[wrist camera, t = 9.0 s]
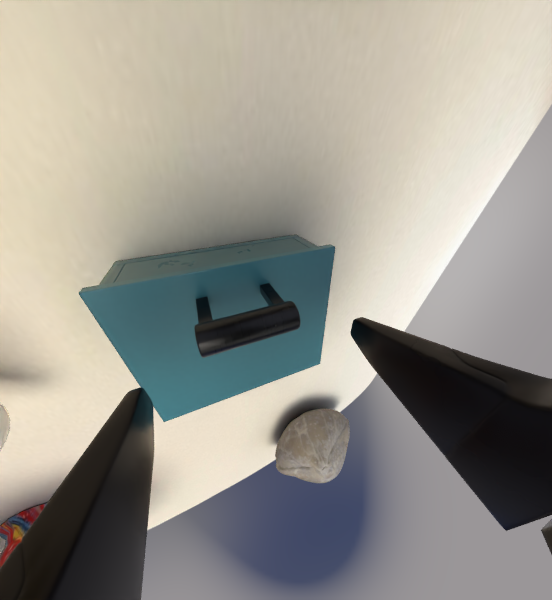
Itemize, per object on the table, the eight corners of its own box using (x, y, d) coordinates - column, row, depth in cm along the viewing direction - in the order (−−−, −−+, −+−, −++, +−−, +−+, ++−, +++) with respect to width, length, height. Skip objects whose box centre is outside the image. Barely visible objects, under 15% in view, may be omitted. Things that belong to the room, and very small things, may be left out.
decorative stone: (295, 478, 40) (295, 548, 25) (265, 429, 43) (250, 467, 28) (355, 430, 41) (387, 471, 27) (322, 385, 44) (335, 400, 29)
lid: (82, 287, 10) (24, 356, 6) (330, 244, 14) (384, 269, 11) (164, 415, 17) (159, 486, 13) (317, 359, 21) (346, 400, 17)
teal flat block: (114, 261, 15) (88, 297, 10) (296, 234, 19) (329, 251, 15) (167, 366, 21) (164, 414, 17) (294, 328, 25) (316, 359, 21)
